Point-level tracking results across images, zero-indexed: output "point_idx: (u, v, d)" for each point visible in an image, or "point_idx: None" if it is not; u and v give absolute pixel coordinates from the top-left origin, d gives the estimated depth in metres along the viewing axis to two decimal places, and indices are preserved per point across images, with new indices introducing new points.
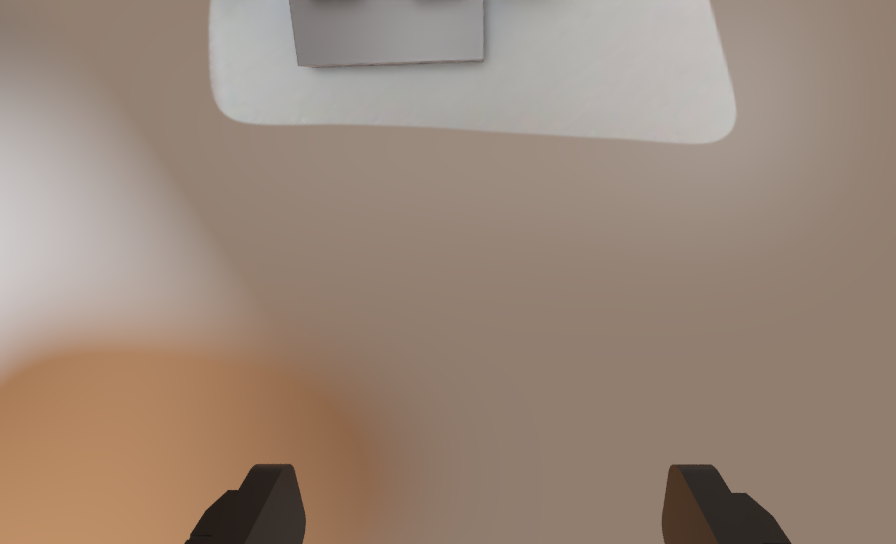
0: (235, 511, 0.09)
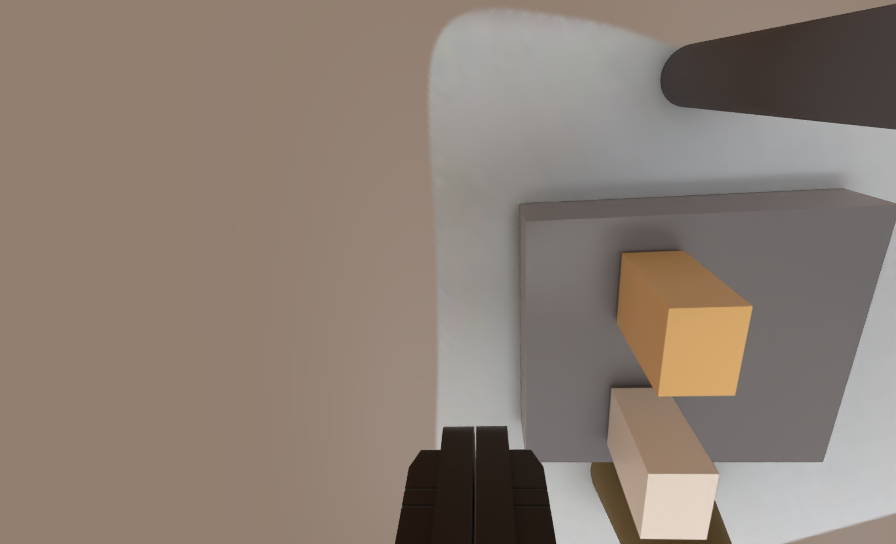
0: (448, 465, 0.09)
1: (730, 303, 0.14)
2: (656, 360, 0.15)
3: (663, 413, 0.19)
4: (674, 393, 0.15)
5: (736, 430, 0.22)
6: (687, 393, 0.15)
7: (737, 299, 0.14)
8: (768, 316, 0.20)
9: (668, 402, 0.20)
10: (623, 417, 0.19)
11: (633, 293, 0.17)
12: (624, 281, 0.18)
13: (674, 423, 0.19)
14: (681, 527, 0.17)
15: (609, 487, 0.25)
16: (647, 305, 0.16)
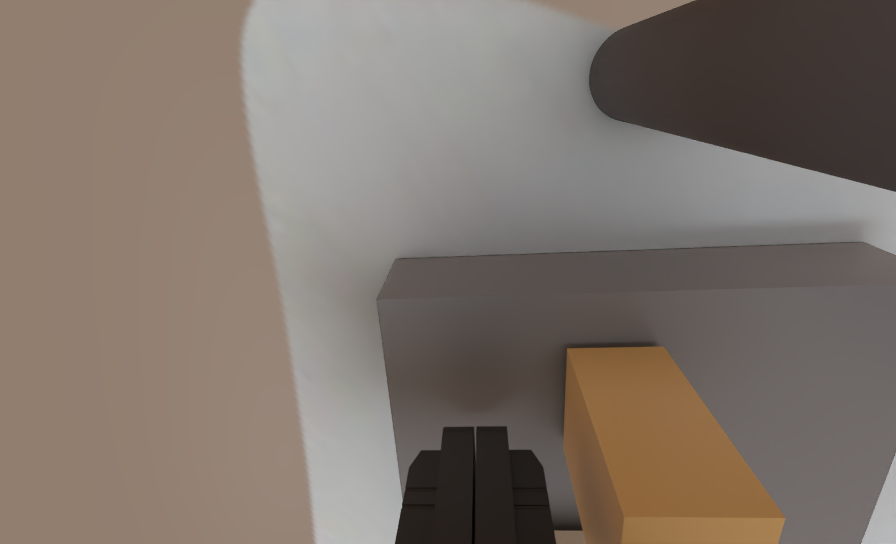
0: (448, 465, 0.09)
1: (741, 503, 0.07)
2: None
3: None
4: None
5: None
6: None
7: (754, 492, 0.08)
8: (751, 437, 0.13)
9: None
10: None
11: (579, 426, 0.11)
12: (569, 394, 0.12)
13: None
14: None
15: None
16: (596, 468, 0.09)
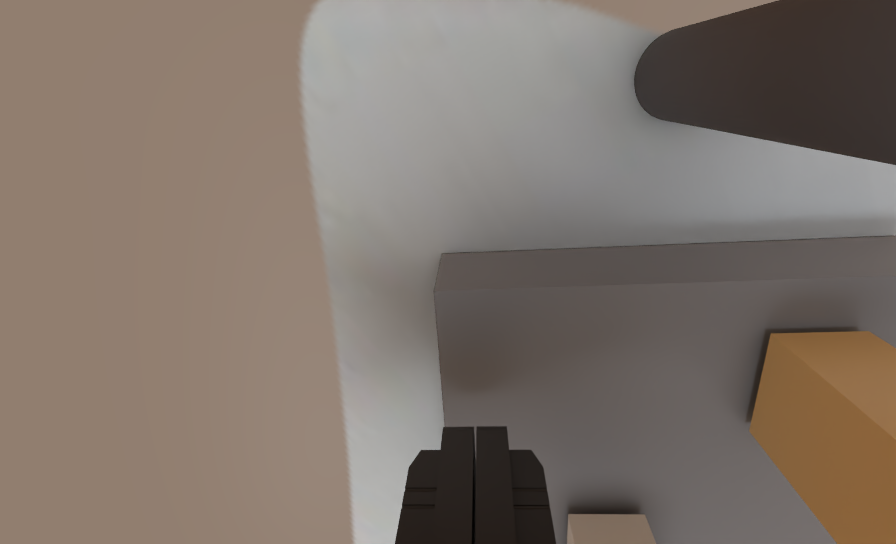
0: (448, 465, 0.09)
1: None
2: None
3: None
4: None
5: None
6: None
7: None
8: None
9: None
10: None
11: (807, 407, 0.11)
12: (776, 378, 0.12)
13: None
14: None
15: None
16: (859, 445, 0.09)
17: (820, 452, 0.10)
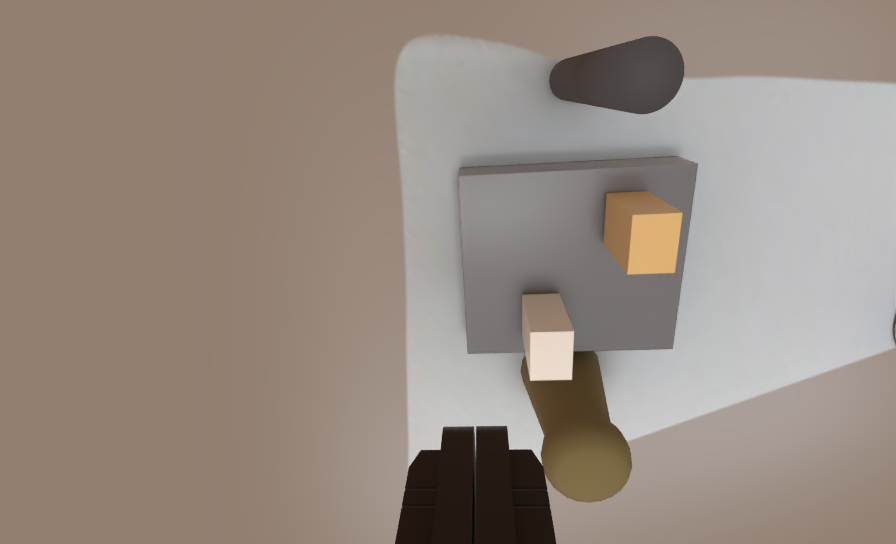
0: (448, 465, 0.09)
1: (669, 212, 0.23)
2: (626, 252, 0.24)
3: (551, 305, 0.29)
4: (637, 272, 0.24)
5: (610, 326, 0.31)
6: (645, 271, 0.24)
7: (674, 210, 0.23)
8: None
9: (557, 300, 0.29)
10: (525, 308, 0.29)
11: (613, 216, 0.26)
12: (608, 211, 0.27)
13: (556, 310, 0.28)
14: (555, 371, 0.27)
15: None
16: (621, 219, 0.25)
17: (616, 232, 0.26)
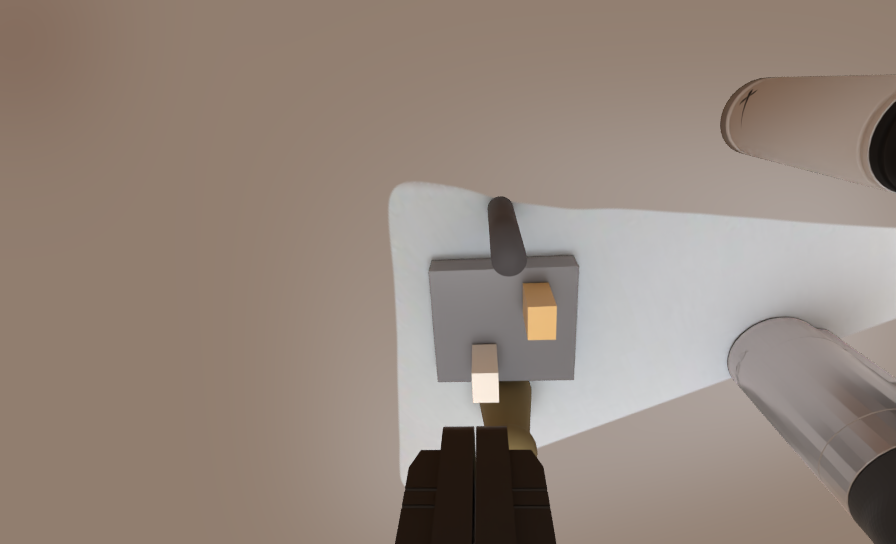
0: (448, 465, 0.09)
1: (550, 304, 0.39)
2: (527, 326, 0.40)
3: (489, 353, 0.45)
4: (533, 338, 0.40)
5: (532, 365, 0.47)
6: (538, 338, 0.40)
7: (553, 303, 0.39)
8: None
9: (493, 349, 0.45)
10: (472, 355, 0.45)
11: (524, 300, 0.42)
12: (523, 295, 0.43)
13: (491, 357, 0.44)
14: (488, 397, 0.43)
15: None
16: (525, 305, 0.41)
17: (525, 311, 0.42)
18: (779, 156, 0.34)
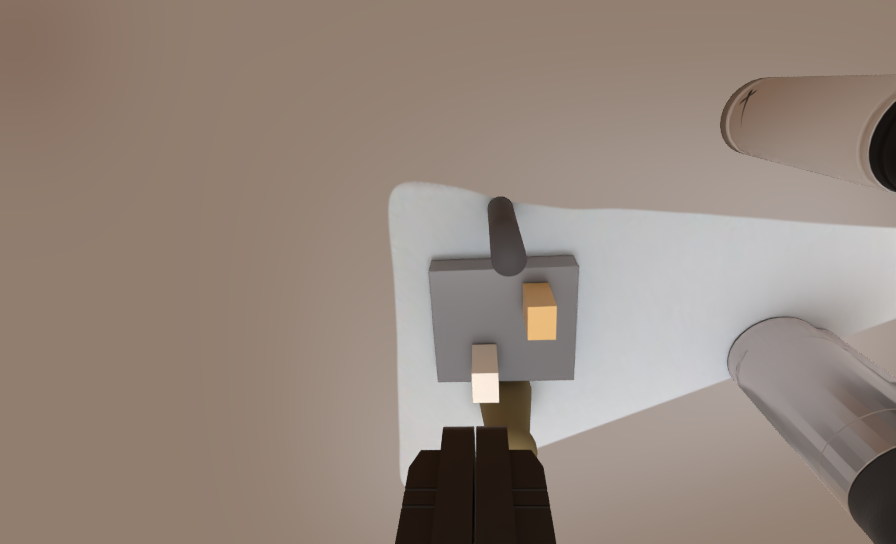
0: (448, 465, 0.09)
1: (550, 305, 0.39)
2: (527, 326, 0.40)
3: (489, 353, 0.45)
4: (533, 339, 0.40)
5: (532, 365, 0.47)
6: (538, 338, 0.40)
7: (553, 303, 0.39)
8: None
9: (493, 349, 0.45)
10: (472, 355, 0.45)
11: (524, 300, 0.42)
12: (523, 295, 0.43)
13: (491, 357, 0.44)
14: (488, 397, 0.43)
15: None
16: (525, 305, 0.41)
17: (525, 311, 0.42)
18: (779, 156, 0.34)
